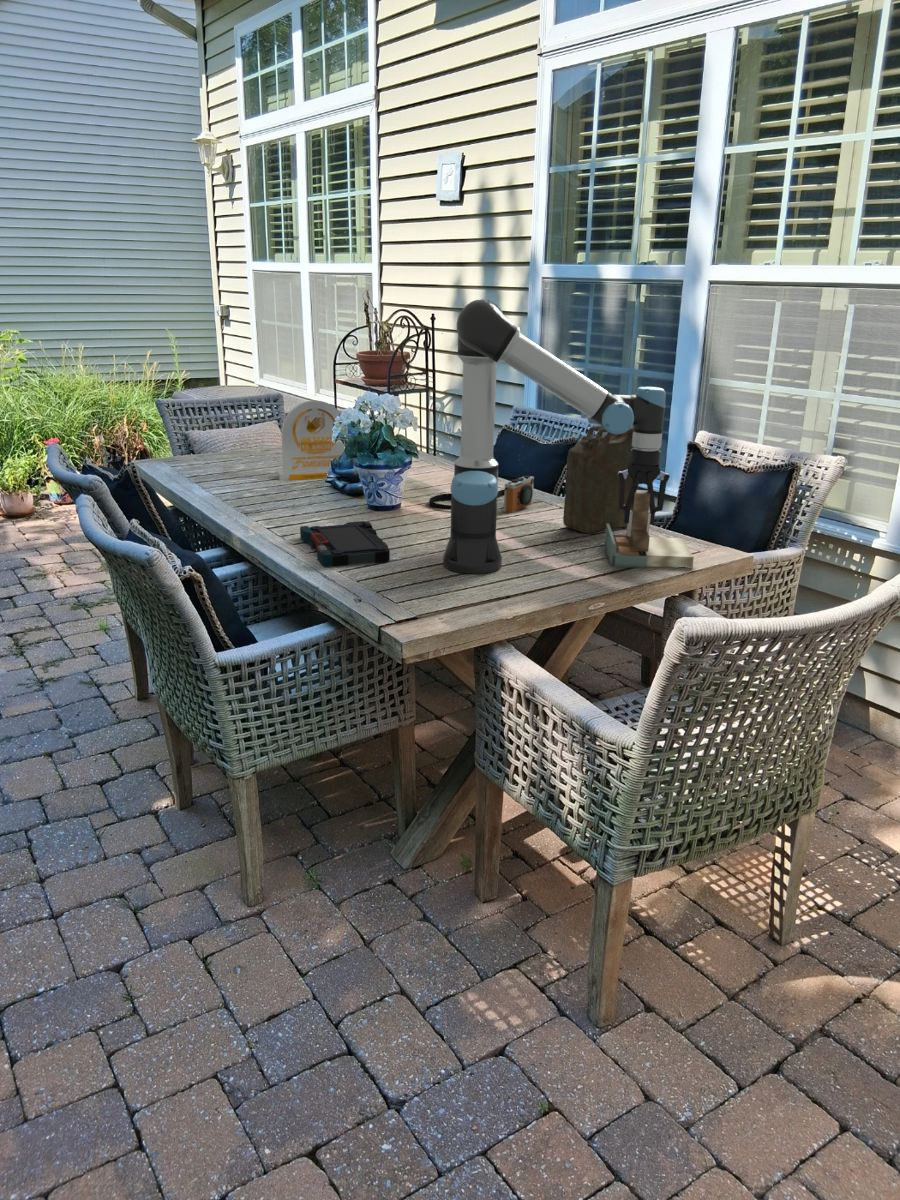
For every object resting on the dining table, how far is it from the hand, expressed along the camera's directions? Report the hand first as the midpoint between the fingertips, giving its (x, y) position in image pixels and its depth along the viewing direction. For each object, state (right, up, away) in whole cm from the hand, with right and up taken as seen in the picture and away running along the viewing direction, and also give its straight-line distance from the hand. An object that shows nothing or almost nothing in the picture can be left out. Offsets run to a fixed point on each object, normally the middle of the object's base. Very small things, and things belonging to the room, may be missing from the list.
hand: (637, 535), depth 238 cm
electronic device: (-79, -4, +4) cm, 79 cm away
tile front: (-3, -6, -2) cm, 7 cm away
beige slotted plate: (+7, -6, +1) cm, 10 cm away
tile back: (-2, -3, +6) cm, 8 cm away
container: (-5, +5, +30) cm, 31 cm away
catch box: (-3, -5, +2) cm, 7 cm away
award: (-100, +28, +91) cm, 138 cm away
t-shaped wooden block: (0, -2, +1) cm, 2 cm away
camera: (-39, +14, +55) cm, 69 cm away
